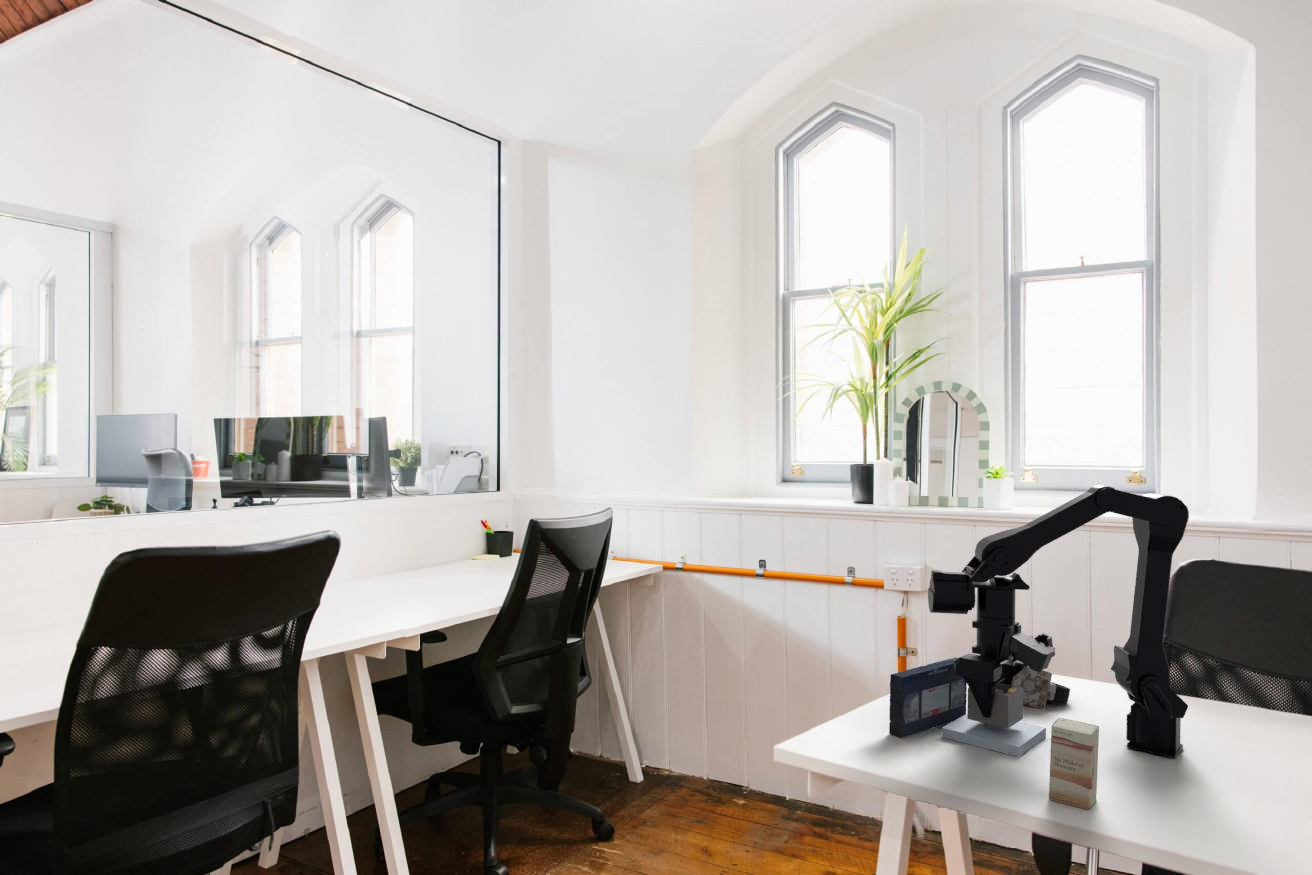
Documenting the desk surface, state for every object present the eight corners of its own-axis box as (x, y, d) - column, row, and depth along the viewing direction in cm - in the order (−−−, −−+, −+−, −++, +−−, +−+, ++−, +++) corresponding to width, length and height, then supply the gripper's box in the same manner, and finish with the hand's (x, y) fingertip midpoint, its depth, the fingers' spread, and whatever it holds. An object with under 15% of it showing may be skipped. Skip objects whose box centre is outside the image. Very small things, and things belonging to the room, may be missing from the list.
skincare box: (1047, 800, 111) (1048, 724, 111) (1056, 789, 115) (1057, 716, 115) (1090, 811, 108) (1091, 733, 108) (1098, 800, 112) (1099, 724, 112)
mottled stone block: (1059, 709, 158) (1072, 718, 148) (996, 691, 160) (1005, 699, 151) (1066, 674, 158) (1080, 681, 149) (1003, 657, 161) (1013, 662, 151)
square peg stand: (1045, 736, 135) (1046, 690, 135) (1018, 756, 127) (1019, 707, 127) (972, 719, 144) (972, 675, 144) (942, 736, 135) (942, 690, 135)
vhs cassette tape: (901, 739, 134) (901, 677, 134) (886, 734, 136) (886, 672, 136) (969, 718, 144) (970, 660, 144) (954, 713, 147) (955, 656, 147)
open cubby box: (983, 709, 140) (983, 677, 140) (1022, 718, 135) (1023, 685, 135) (967, 718, 135) (967, 685, 135) (1008, 728, 131) (1008, 693, 131)
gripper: (1026, 633, 123) (1025, 739, 123) (1067, 614, 136) (1066, 710, 136) (952, 621, 130) (951, 721, 130) (998, 604, 144) (997, 695, 144)
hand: (994, 712), depth 135 cm, fingers closed on open cubby box, 6 cm apart
